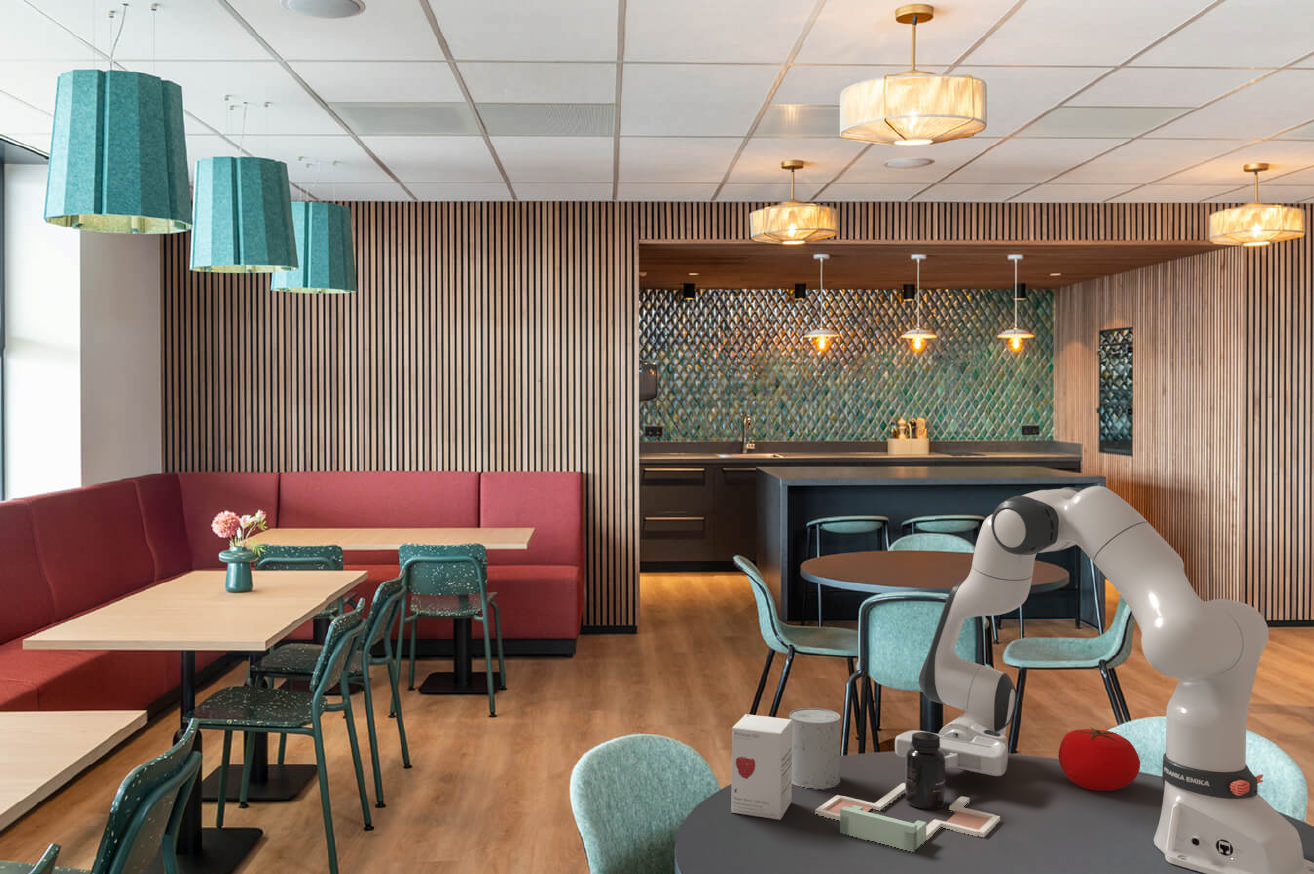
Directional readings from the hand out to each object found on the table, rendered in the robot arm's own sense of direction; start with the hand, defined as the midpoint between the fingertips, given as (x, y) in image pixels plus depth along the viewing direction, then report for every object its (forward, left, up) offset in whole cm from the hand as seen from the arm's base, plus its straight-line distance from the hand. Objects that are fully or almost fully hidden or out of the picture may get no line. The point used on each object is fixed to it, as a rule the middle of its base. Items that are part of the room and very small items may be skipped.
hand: (935, 763), depth 181 cm
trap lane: (-4, +12, -6) cm, 14 cm away
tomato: (-13, -29, -6) cm, 32 cm away
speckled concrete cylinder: (+18, +13, -6) cm, 23 cm away
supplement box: (+13, +30, -6) cm, 33 cm away
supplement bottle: (-2, +4, -6) cm, 8 cm away
